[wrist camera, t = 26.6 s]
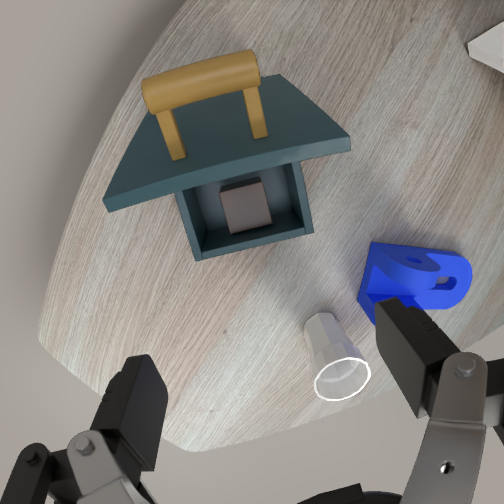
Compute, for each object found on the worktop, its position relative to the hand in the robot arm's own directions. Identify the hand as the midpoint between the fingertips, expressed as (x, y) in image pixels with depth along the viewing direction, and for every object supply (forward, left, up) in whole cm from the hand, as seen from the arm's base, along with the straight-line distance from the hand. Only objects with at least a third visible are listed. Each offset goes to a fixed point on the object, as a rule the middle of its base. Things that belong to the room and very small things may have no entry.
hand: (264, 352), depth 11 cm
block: (0, 0, -27) cm, 27 cm away
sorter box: (-1, +4, -28) cm, 28 cm away
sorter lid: (-3, +7, -13) cm, 15 cm away
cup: (+13, -16, -28) cm, 35 cm away
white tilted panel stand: (+43, +28, -28) cm, 58 cm away
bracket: (+26, -7, -28) cm, 39 cm away
